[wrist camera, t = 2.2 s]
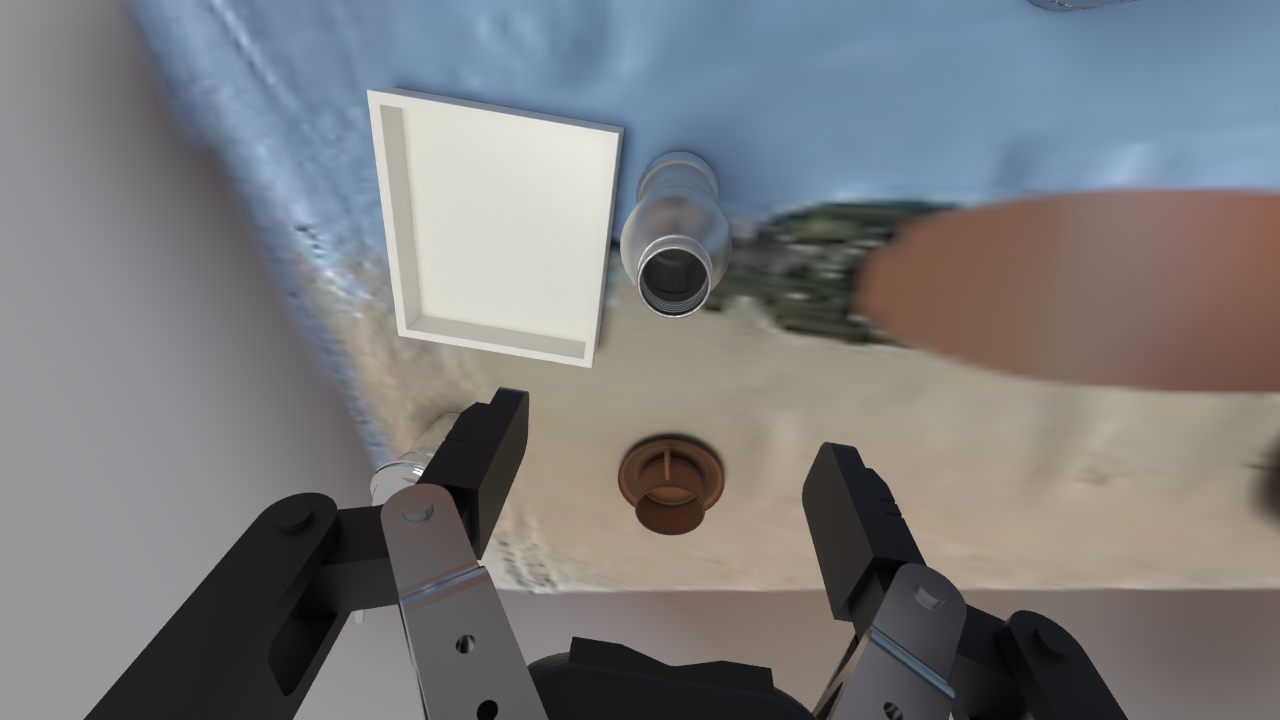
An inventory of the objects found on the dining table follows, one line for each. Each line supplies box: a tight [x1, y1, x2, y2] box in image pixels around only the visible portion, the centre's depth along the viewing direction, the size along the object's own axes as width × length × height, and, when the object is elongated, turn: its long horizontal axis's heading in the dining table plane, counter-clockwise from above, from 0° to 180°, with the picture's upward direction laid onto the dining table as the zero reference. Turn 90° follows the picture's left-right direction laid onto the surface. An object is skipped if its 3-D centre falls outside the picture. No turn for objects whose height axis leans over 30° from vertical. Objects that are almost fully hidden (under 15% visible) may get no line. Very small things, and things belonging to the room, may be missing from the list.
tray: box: [367, 88, 624, 368], centre depth 41 cm, size 20×18×4 cm
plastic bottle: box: [620, 151, 732, 318], centre depth 31 cm, size 6×7×20 cm
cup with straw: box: [355, 412, 460, 623], centre depth 47 cm, size 8×9×20 cm
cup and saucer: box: [618, 440, 724, 535], centre depth 54 cm, size 12×12×6 cm
